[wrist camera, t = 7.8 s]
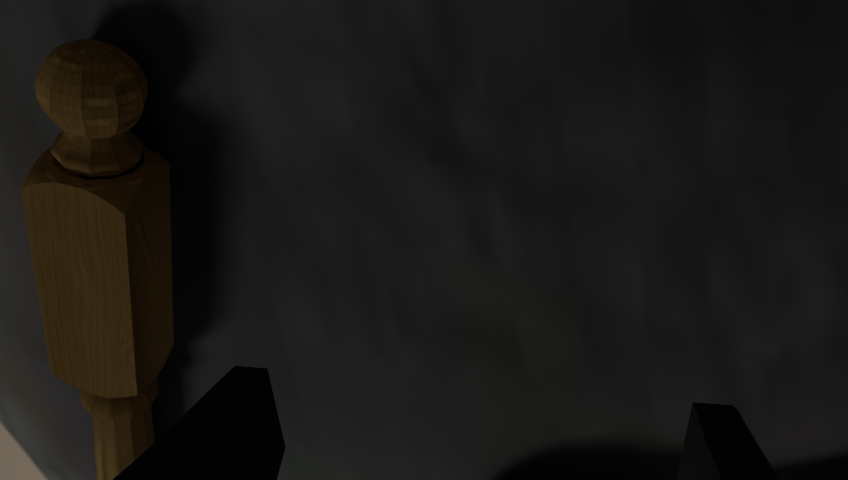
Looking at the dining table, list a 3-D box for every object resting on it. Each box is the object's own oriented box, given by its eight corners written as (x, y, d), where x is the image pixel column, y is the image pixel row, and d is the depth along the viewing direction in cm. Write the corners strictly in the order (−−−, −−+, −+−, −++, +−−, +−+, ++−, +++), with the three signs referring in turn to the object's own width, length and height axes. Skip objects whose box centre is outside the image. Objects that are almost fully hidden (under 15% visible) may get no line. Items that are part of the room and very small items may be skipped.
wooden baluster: (94, 636, 35) (-3, 51, 18) (126, 577, 38) (67, 14, 21) (155, 652, 35) (115, 80, 18) (182, 592, 38) (170, 40, 21)
